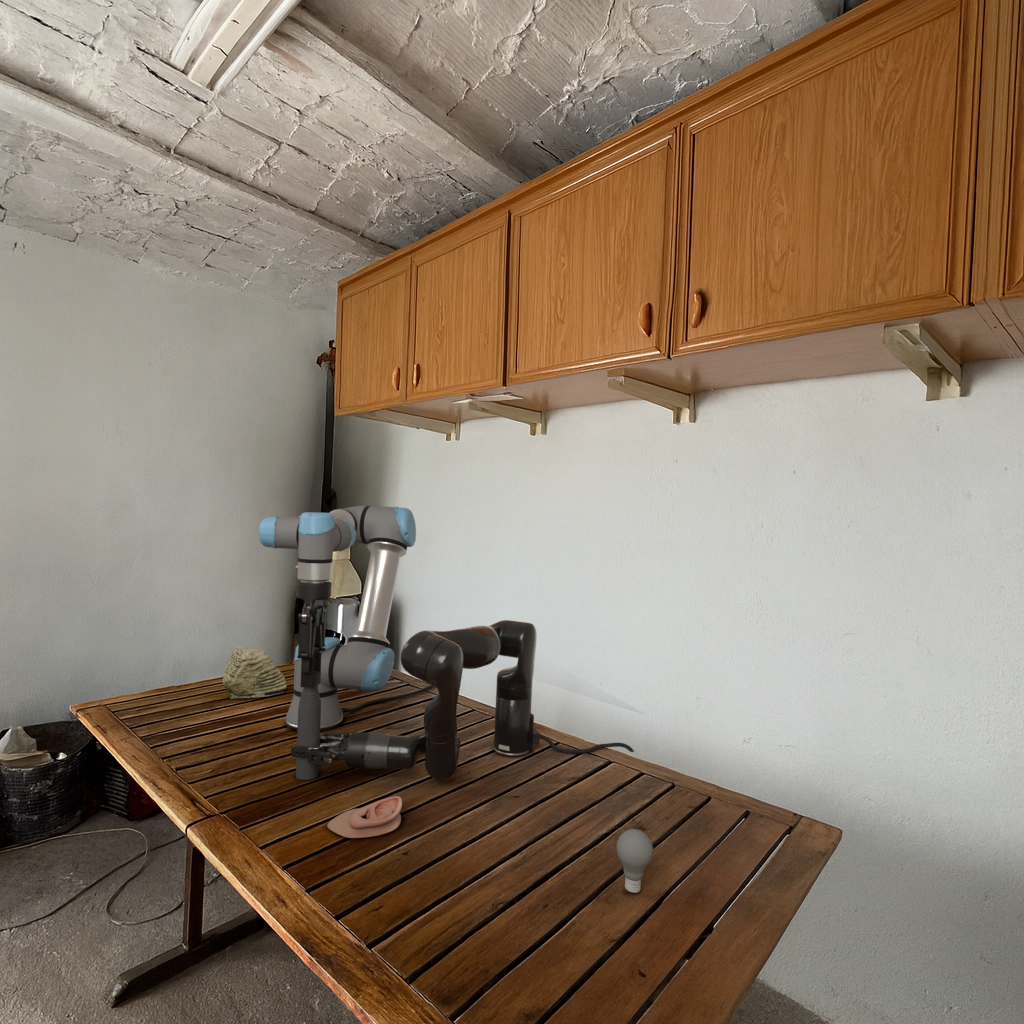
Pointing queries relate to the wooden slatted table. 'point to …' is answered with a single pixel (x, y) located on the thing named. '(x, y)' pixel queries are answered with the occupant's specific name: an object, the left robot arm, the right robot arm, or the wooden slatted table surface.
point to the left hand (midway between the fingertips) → (310, 683)
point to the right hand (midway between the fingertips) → (296, 746)
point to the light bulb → (634, 857)
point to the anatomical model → (369, 819)
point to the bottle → (308, 730)
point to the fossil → (252, 674)
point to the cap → (317, 678)
